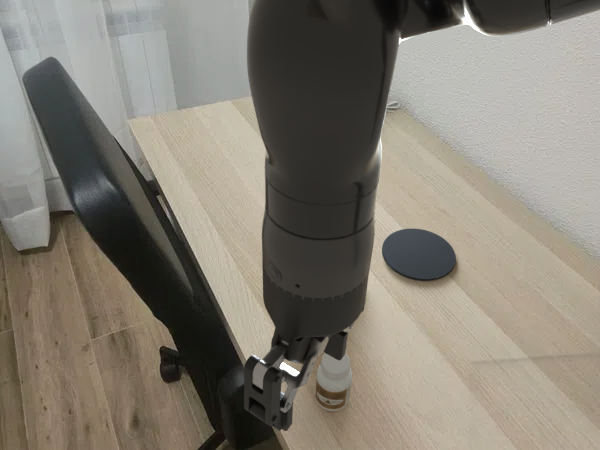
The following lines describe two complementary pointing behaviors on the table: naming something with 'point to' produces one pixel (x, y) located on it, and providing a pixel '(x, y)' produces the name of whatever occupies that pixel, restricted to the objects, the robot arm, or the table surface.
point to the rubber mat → (418, 254)
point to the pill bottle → (333, 383)
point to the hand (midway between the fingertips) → (307, 386)
